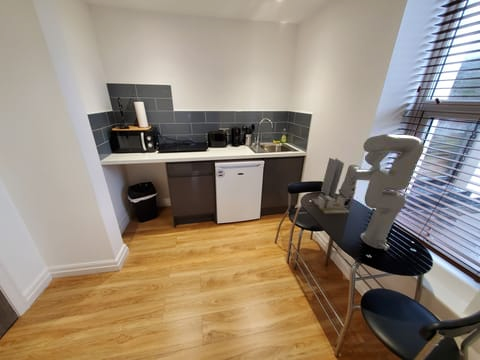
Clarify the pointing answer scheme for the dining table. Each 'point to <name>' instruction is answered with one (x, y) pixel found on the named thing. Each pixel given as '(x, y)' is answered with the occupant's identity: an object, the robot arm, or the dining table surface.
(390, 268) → the dining table surface
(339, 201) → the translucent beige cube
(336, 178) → the brochure
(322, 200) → the ticket pad
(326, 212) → the ticket board
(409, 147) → the robot arm
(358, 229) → the dining table surface
